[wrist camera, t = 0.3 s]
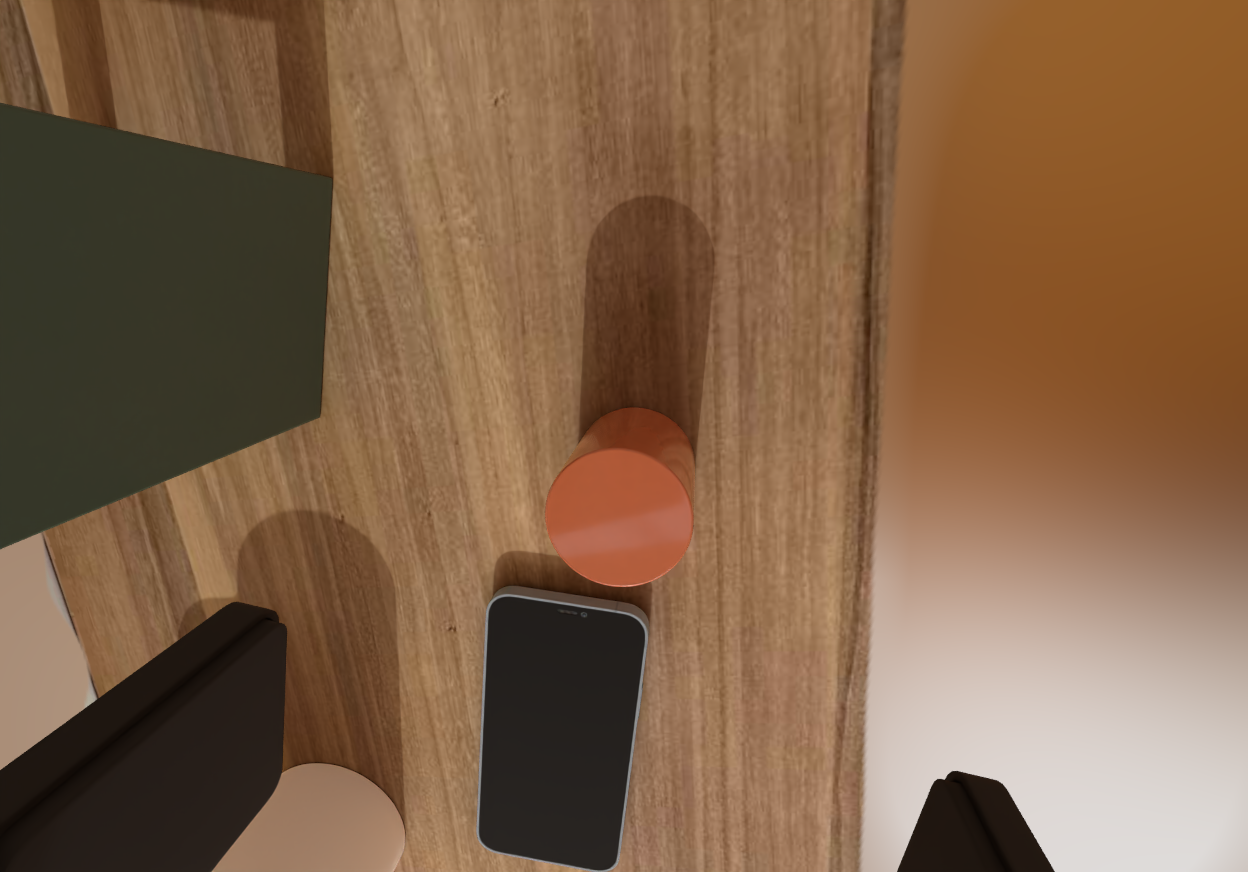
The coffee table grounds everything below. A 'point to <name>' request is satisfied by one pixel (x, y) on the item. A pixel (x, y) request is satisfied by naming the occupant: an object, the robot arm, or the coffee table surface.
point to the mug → (320, 826)
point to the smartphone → (558, 725)
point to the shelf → (146, 311)
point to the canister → (624, 499)
